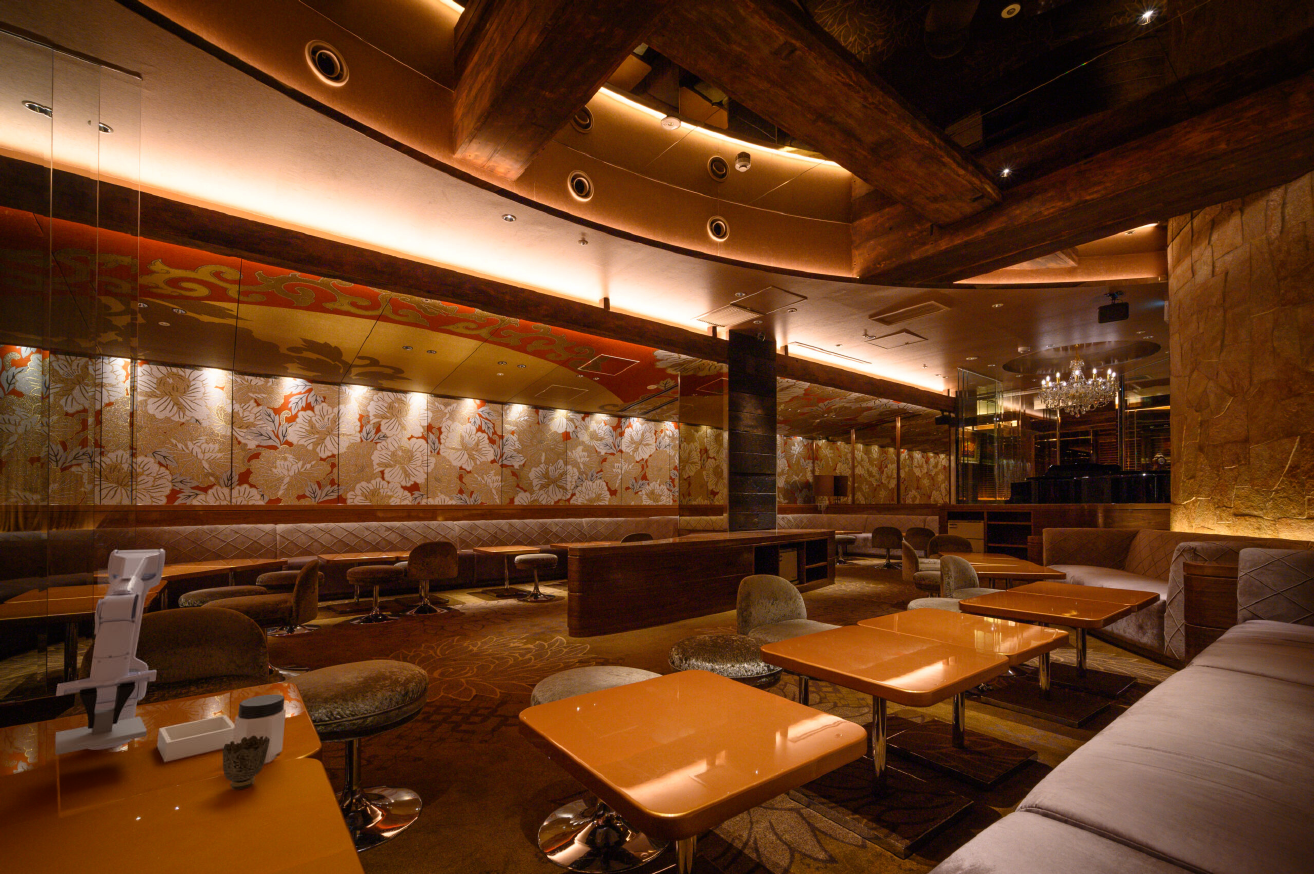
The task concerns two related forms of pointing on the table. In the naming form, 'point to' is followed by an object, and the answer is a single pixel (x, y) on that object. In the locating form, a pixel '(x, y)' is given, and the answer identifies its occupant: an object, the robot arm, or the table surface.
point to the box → (195, 737)
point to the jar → (262, 722)
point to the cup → (244, 760)
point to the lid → (99, 732)
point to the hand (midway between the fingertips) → (102, 724)
